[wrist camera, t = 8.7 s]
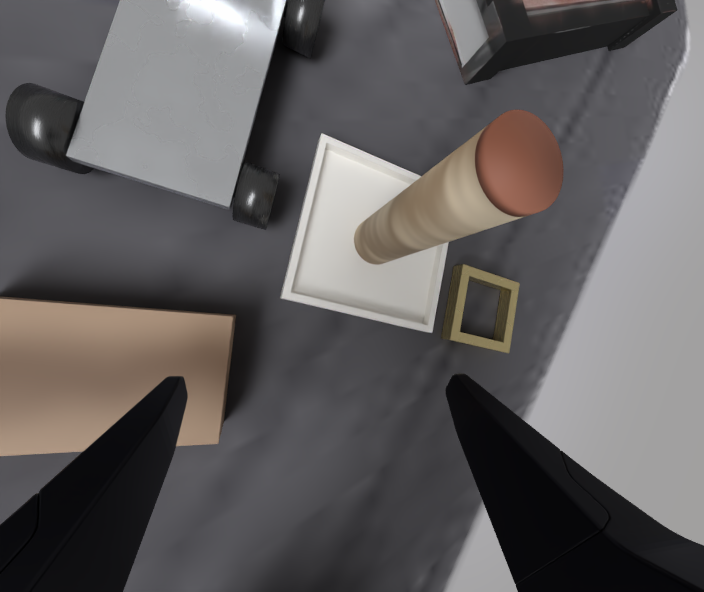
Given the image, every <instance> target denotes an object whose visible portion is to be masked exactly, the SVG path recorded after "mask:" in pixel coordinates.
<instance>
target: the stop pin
mask: <svg viewBox="0 0 704 592" xmlns="http://www.w3.org/2000/svg"><path fill="white" fill-rule="evenodd" d="M562 181H563V161H562V156H561V152H560V149H559V146H558V143H557V141H556V139H555V137H554V135H553V134H552V132H551V131H550V129H549V128H548V127H547V125H546V124H545V123H544V122H543V121H542V120H541V119H539V118H538V117H537V116H535V115H533V114H532V113H529V112H527V111H523V110H511V111H508V112H505V113H504V114H502V115H501V116H499V117H498V118H497V119H495V120H494V121H493V122H491V123H490V124H489V125H488V126H486V127H485V128H484V129H482V130H481V131H480V132H479V133H477V134H476V135H475V136H473V137H472V138H471V139H469V140H468V141H467V142H466V143H464V144H463V145H462V146H460V147H459V148H458V149H456V150H455V151H454V152H453V153H451V154H450V155H449V156H447V157H446V158H445V159H444V160H442V161H441V162H440V163H438V164H437V165H436V166H434V167H433V168H432V169H431V170H429V171H428V172H427V173H425V174H424V175H423V176H422V177H420V178H419V179H418V180H416V181H415V182H414V183H412V184H411V185H410V186H409V187H407V188H406V189H405V190H403V191H402V192H401V193H400V194H398V195H397V196H396V197H394V198H393V199H392V200H390V201H389V202H388V203H387V204H385V205H384V206H383V207H381V208H380V209H379V210H377V211H376V212H375V213H374V214H372V215H371V216H370V217H368V218H367V219H366V220H365V221H363V222H362V223H361V224H360V225H359V226H358V227H357V229H356V231H355V235H354V245H355V249H356V251H357V253H358V254H359V256H360V257H361V258H362V259H363V260H365V261H366V262H368V263H370V264H375V265H378V264H383V263H386V262H389V261H392V260H395V259H398V258H401V257H404V256H407V255H410V254H413V253H416V252H419V251H422V250H426V249H429V248H432V247H435V246H438V245H441V244H444V243H447V242H450V241H453V240H456V239H459V238H462V237H465V236H468V235H471V234H474V233H477V232H480V231H483V230H486V229H489V228H492V227H495V226H498V225H501V224H504V223H507V222H510V221H513V220H516V219H519V218H522V217H525V216H528V215H531V214H534V213H538V212H541V211H543V210H545V209H547V208H548V207H549V206H551V205H552V203H553V202H554V201H555V200H556V198H557V196H558V194H559V192H560V189H561V186H562Z"/></svg>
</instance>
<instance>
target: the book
mask: <svg viewBox="0 0 704 592" xmlns="http://www.w3.org/2000/svg"><path fill="white" fill-rule="evenodd" d="M435 2H436V5H437V7H438V10H439V13H440V16H441V19H442V21H443V24H444V27H445V30H446V33H447V35H448V38H449V41H450V44H451V47H452V49H453V52H454V55H455V58H456V61H457V63H458V66H459V69H460V72H461V75H462V77H463V80H464V83H465V85H467V84H471V83H475V82H480V81H484V80H488V79H491V78H492V77H493V76H494V75H495V74H496V73H497V72H498V71H500V70H505V69H509V68H514V67H518V66H522V65H527V64H531V63H536V62H540V61H544V60H549V59H553V58H558V57H562V56H567V55H571V54H575V53H580V52H584V51H589V50H593V49H597V48H602V47H606V46H607V47H608V50H609V51H611V50H615V49H619V48H624V47H625V46H627V45H628V44H630V43H631V42H633V41H634V40H635V39H637V38H638V37H640V36H641V35H643V34H644V33H645V32H647V31H648V30H650V29H651V28H653V27H654V26H655V25H657V24H658V23H660V22H661V21H663V20H664V19H665V18H667V17H668V16H670V15H671V14H673V13H674V12H676V11H677V7H676V4H675V0H435Z"/></svg>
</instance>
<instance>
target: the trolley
mask: <svg viewBox="0 0 704 592" xmlns="http://www.w3.org/2000/svg"><path fill="white" fill-rule="evenodd" d="M287 1H288V0H120V2H119V5H118V8H117V11H116V14H115V17H114V19H113V22H112V25H111V28H110V31H109V34H108V37H107V39H106V42H105V45H104V48H103V51H102V54H101V57H100V59H99V62H98V65H97V68H96V71H95V74H94V77H93V80H92V82H91V85H90V88H89V91H88V94H87V97H86V100H85V102H83V101H80V100H77V99H74V98H72V97H69V96H66V95H64V94H61V93H58V92H55V91H53V90H50V89H47V88H45V87H42V86H39V85H36V84H32V83H26V84H22V85H20V86H19V87H17V88H16V89H15V90H14V91H13V92H12V94H11V95H10V98H9V100H8V103H7V107H6V125H7V129H8V133H9V136H10V138H11V140H12V142H13V144H14V145H15V147H16V148H17V149H18V150H19V151H20V152H21V153H22V154H23V155H24V156H26V157H27V158H30V159H32V160H36V161H39V162H42V163H46V164H49V165H52V166H55V167H59V168H62V169H65V170H69V171H72V172H75V173H79V174H86V173H89V172H91V171H92V170H93V169H94V168H96V169H99V170H102V171H105V172H108V173H112V174H115V175H118V176H121V177H124V178H128V179H131V180H134V181H137V182H140V183H144V184H147V185H150V186H153V187H157V188H160V189H163V190H166V191H169V192H173V193H176V194H179V195H182V196H185V197H189V198H192V199H195V200H198V201H201V202H205V203H208V204H211V205H214V206H218V207H221V208H224V209H227V210H230V209H231V205H232V201H233V198H234V197H235V200H234V206H233V220H234V221H237V222H241V223H244V224H247V225H251V226H254V227H257V228H261V229H264V230H266V228H267V225H268V221H269V217H270V213H271V209H272V205H273V201H274V197H275V193H276V189H277V185H278V181H279V176H280V174H278V173H275V172H273V171H270V170H267V169H265V168H262V167H259V166H256V165H254V164H251V163H248V162H246V163H245V164H244V166H243V169H242V172H241V168H242V165H243V161H244V157H245V154H246V150H247V146H248V143H249V139H250V136H251V132H252V128H253V125H254V121H255V117H256V114H257V110H258V106H259V103H260V99H261V95H262V92H263V88H264V84H265V81H266V77H267V74H268V70H269V66H270V63H271V59H272V55H273V52H274V48H275V44H276V41H277V37H278V33H279V30H280V26H281V22H282V19H283V17H285V24H284V31H283V40H282V44H283V45H285V46H287V47H289V48H291V49H293V50H295V51H296V52H298V53H300V54H302V55H304V56H306V57H308V58H310V57H311V54H312V50H313V46H314V42H315V38H316V34H317V30H318V26H319V22H320V18H321V14H322V10H323V5H324V1H325V0H289V2H287ZM240 172H241V175H240ZM239 176H240V178H239ZM238 179H239V182H238ZM237 183H238V184H237Z"/></svg>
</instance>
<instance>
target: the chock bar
mask: <svg viewBox="0 0 704 592" xmlns="http://www.w3.org/2000/svg"><path fill="white" fill-rule="evenodd" d="M235 320H236V315H230V314H217V313H205V312H192V311H179V310H166V309H154V308H141V307H128V306H115V305H103V304H90V303H77V302H64V301H51V300H39V299H26V298H13V297H0V456H10V455H27V454H45V453H63V452H80V451H84V450H85V449H86V448H88V447H89V446H90V445H91V444H92V443H93V442H94V441H95V440H97V439H98V438H99V437H100V436H101V435H102V434H103V433H104V432H106V431H107V430H108V429H109V428H110V427H111V426H112V425H113V424H115V423H116V422H117V421H118V420H119V419H120V418H121V417H122V416H123V415H125V414H126V413H127V412H128V411H129V410H130V409H131V408H132V407H134V406H135V405H136V404H137V403H138V402H139V401H140V400H141V399H143V398H144V397H145V396H146V395H147V394H148V393H149V392H150V391H152V390H153V389H154V388H155V387H156V386H157V385H158V384H159V383H160V382H162V381H163V380H164V379H165V378H166V377H168V376H183V377H184V379H185V384H186V388H187V393H188V399H187V404H186V408H185V412H184V416H183V420H182V424H181V428H180V432H179V436H178V440H177V444H176V446H187V445H204V444H218V443H219V439H220V435H221V431H222V427H223V423H224V415H225V406H226V398H227V389H228V380H229V372H230V363H231V354H232V346H233V337H234V328H235Z"/></svg>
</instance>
